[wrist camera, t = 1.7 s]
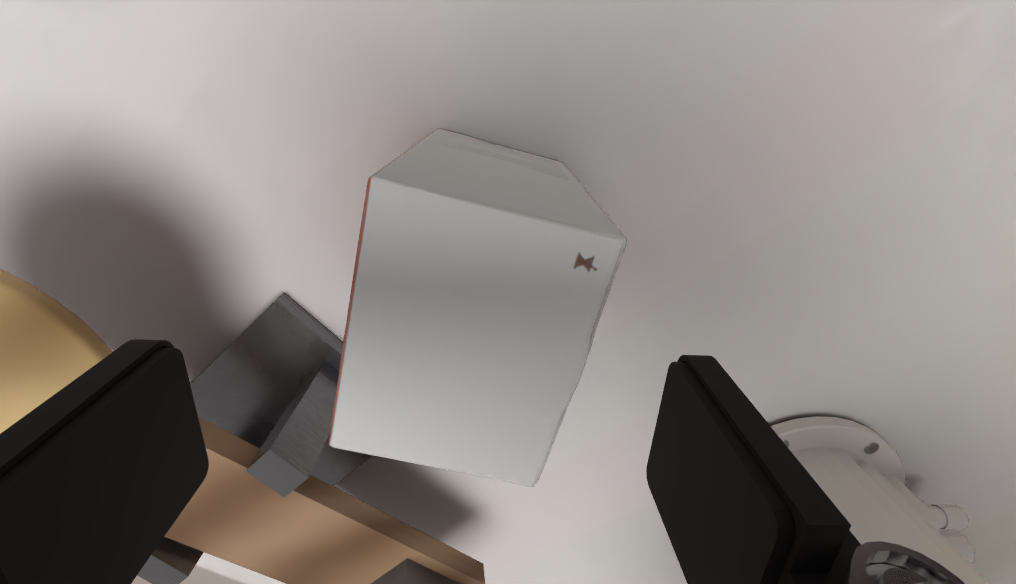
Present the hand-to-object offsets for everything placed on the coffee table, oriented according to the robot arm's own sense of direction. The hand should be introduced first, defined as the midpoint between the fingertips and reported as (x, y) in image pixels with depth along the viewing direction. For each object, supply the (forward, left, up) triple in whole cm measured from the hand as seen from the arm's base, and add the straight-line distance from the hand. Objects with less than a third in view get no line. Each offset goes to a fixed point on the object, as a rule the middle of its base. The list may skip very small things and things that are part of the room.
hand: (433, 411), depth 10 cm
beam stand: (+11, +12, -16) cm, 23 cm away
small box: (0, 0, -16) cm, 16 cm away
